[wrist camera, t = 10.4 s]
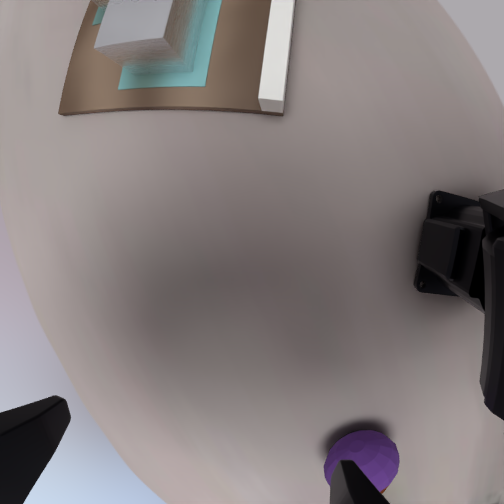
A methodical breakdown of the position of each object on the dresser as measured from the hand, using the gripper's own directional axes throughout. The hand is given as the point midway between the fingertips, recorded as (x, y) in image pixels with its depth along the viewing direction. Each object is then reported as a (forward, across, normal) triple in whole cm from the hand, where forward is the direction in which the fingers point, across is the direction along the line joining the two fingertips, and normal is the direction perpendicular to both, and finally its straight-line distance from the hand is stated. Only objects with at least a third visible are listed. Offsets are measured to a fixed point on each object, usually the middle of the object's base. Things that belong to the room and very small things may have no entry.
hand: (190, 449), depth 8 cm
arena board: (+12, +7, -20) cm, 24 cm away
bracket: (+11, +9, -19) cm, 24 cm away
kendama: (+12, -14, +17) cm, 26 cm away
